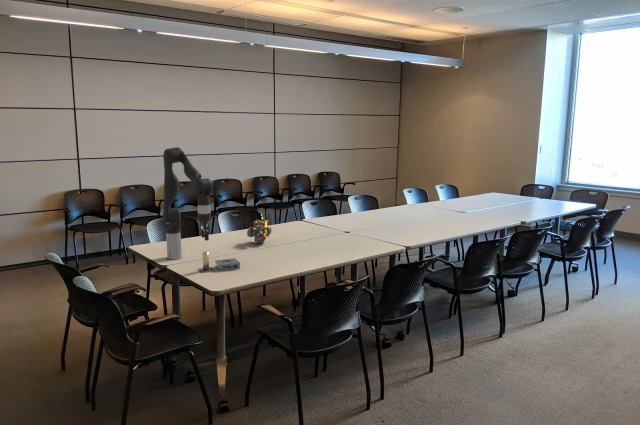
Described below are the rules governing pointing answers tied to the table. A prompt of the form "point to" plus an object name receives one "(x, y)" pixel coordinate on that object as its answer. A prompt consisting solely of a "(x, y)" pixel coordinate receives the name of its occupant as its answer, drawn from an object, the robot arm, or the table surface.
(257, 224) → the molecule model
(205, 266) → the brass pin
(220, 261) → the grey flat block
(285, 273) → the table surface
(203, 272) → the rubber mat
